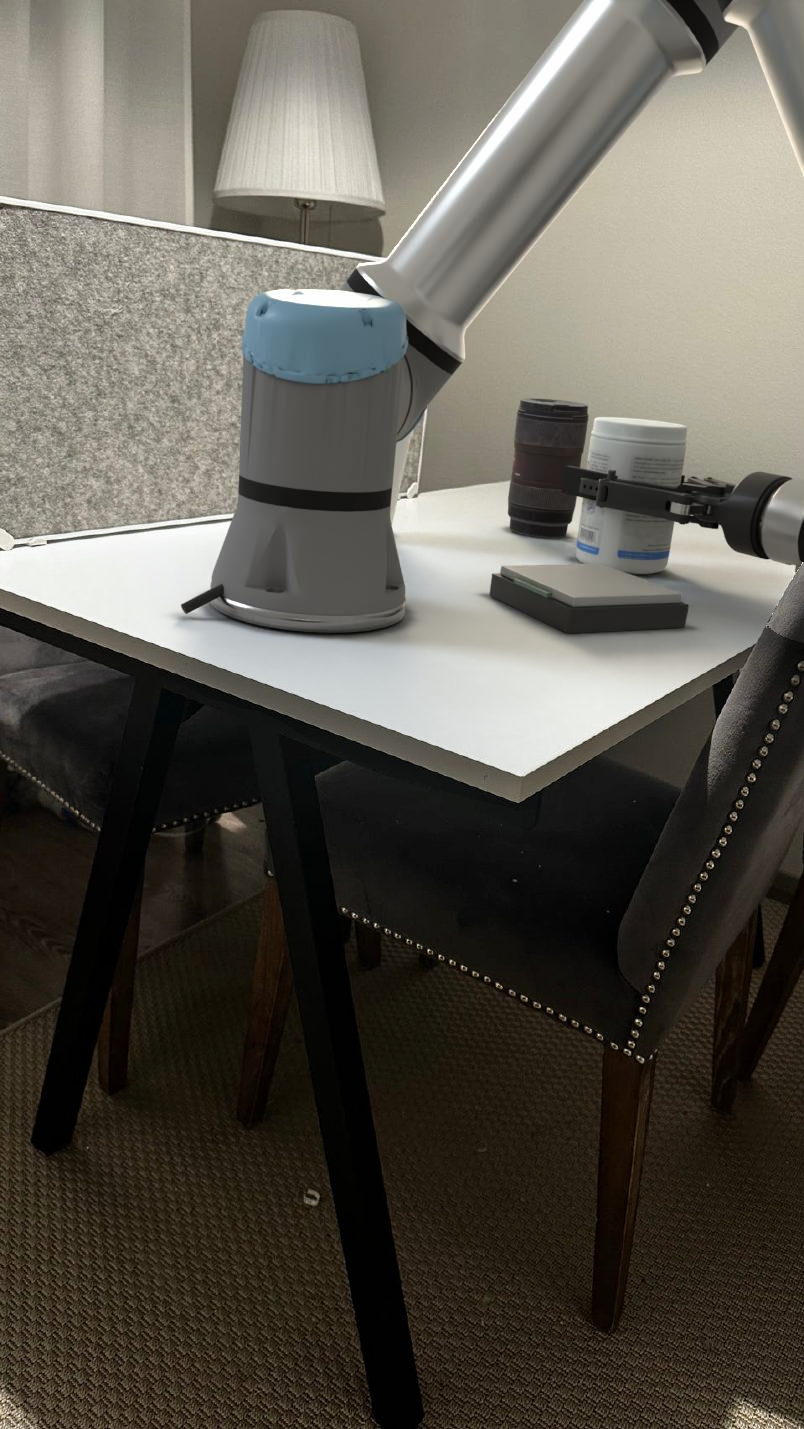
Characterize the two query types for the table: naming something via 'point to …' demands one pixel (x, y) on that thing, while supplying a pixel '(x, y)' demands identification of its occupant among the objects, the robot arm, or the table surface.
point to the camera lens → (545, 465)
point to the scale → (588, 598)
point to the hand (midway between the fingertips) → (600, 478)
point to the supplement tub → (634, 457)
